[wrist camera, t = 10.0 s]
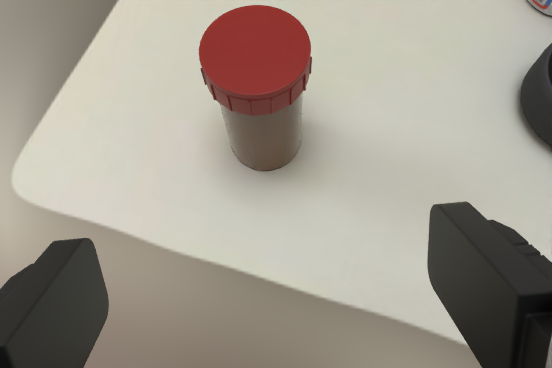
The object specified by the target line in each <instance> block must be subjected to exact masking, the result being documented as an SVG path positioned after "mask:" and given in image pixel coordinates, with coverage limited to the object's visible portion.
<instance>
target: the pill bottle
mask: <svg viewBox="0 0 552 368" xmlns="http://www.w3.org/2000/svg"><path fill="white" fill-rule="evenodd" d="M528 1H529V2H530V3H531V4H532V5H533V6H534V7H535V8H536V9H538V10H539V11H541V12H543V13H545V14H547V15H550V16H552V0H528Z"/></svg>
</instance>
